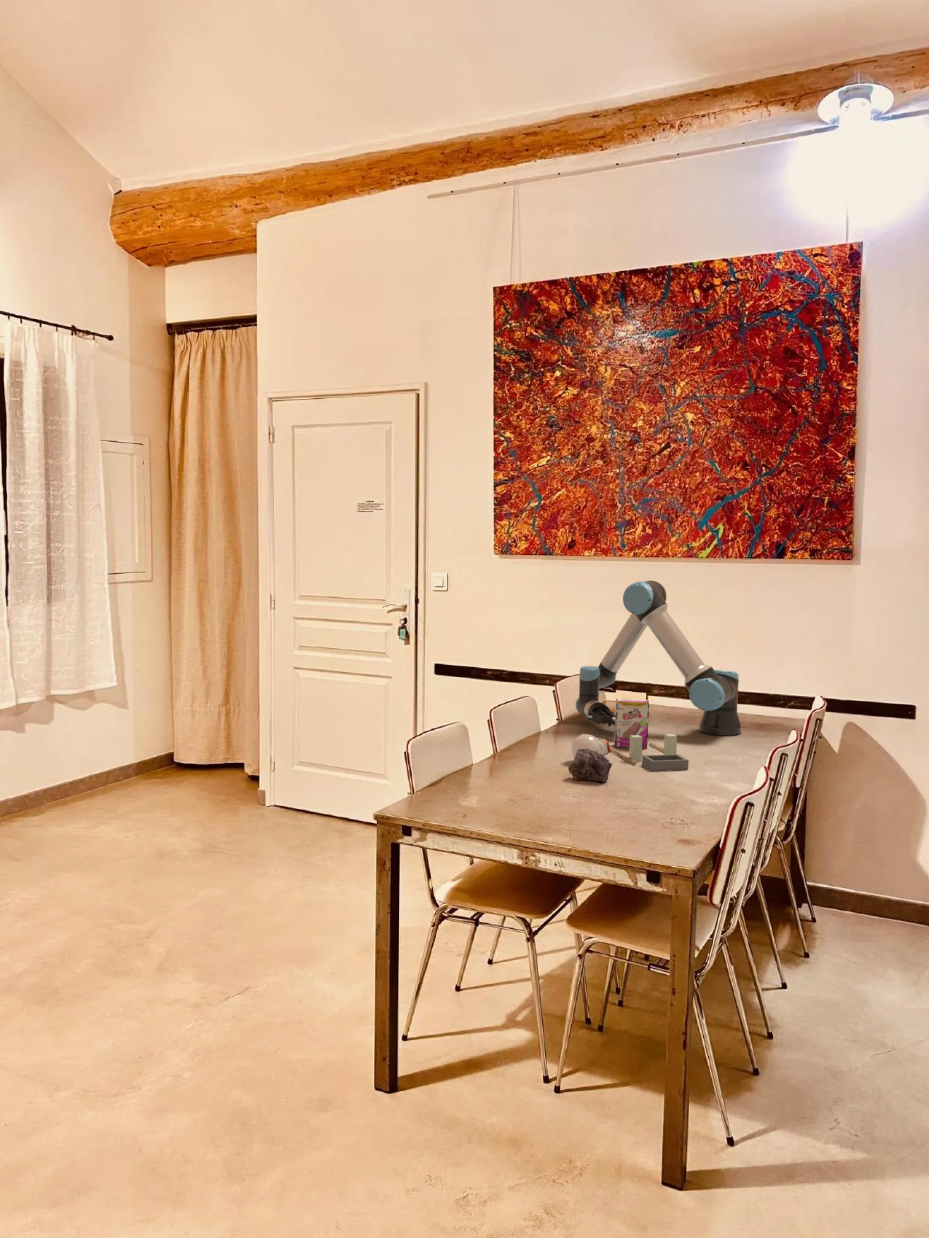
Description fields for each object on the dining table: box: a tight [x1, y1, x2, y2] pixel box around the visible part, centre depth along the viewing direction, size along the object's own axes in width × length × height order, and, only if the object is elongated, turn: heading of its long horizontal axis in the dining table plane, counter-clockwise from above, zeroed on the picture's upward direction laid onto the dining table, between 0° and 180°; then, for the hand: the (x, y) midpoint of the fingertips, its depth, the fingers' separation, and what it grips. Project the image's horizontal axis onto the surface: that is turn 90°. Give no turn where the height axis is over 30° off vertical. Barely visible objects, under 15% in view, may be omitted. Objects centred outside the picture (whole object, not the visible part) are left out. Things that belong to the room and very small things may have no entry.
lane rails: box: [609, 741, 664, 766], centre depth 320 cm, size 18×26×1 cm
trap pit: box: [641, 753, 690, 772], centre depth 304 cm, size 12×8×3 cm, turn 102°
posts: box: [628, 733, 678, 763], centre depth 313 cm, size 15×3×8 cm, turn 102°
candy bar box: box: [613, 698, 650, 750], centre depth 330 cm, size 11×5×16 cm, turn 84°
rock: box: [567, 749, 613, 783], centre depth 287 cm, size 12×9×10 cm
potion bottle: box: [570, 733, 611, 758], centre depth 309 cm, size 9×10×15 cm
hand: (620, 724), depth 339 cm, fingers closed
